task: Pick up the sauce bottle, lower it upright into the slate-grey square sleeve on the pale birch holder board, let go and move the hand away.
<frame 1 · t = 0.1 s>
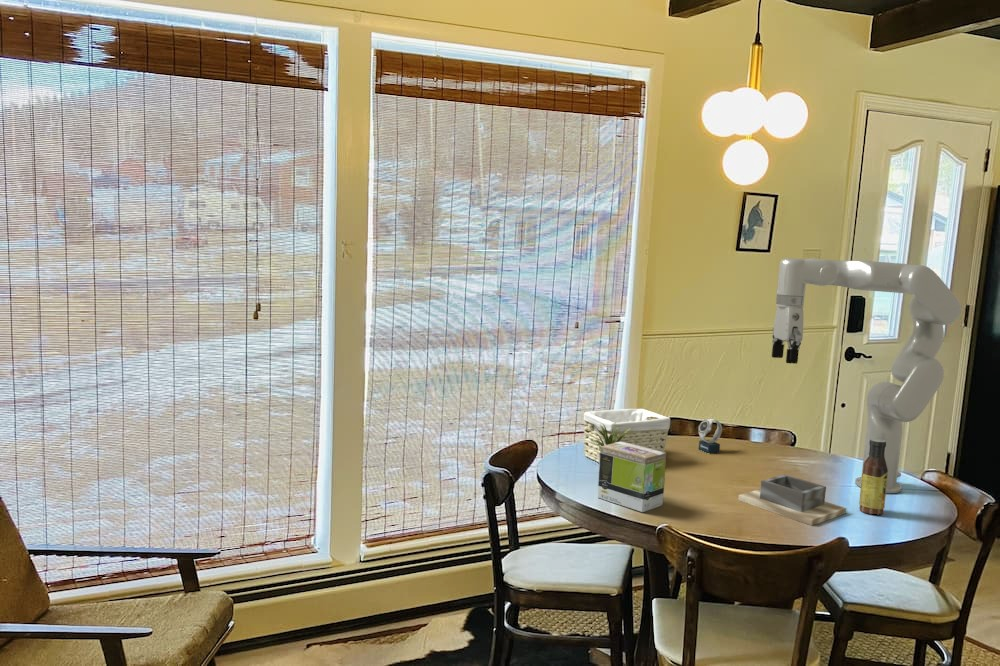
hand: (784, 360, 233), 37 cm above the table, tool pointing down, fingers open, 9 cm apart
house plant: (604, 475, 239), on the table
sauce bottle: (870, 512, 218), on the table
storage basket: (623, 460, 257), on the table
watch: (708, 451, 271), on the table
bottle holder: (791, 506, 219), on the table
tea box: (629, 502, 217), on the table
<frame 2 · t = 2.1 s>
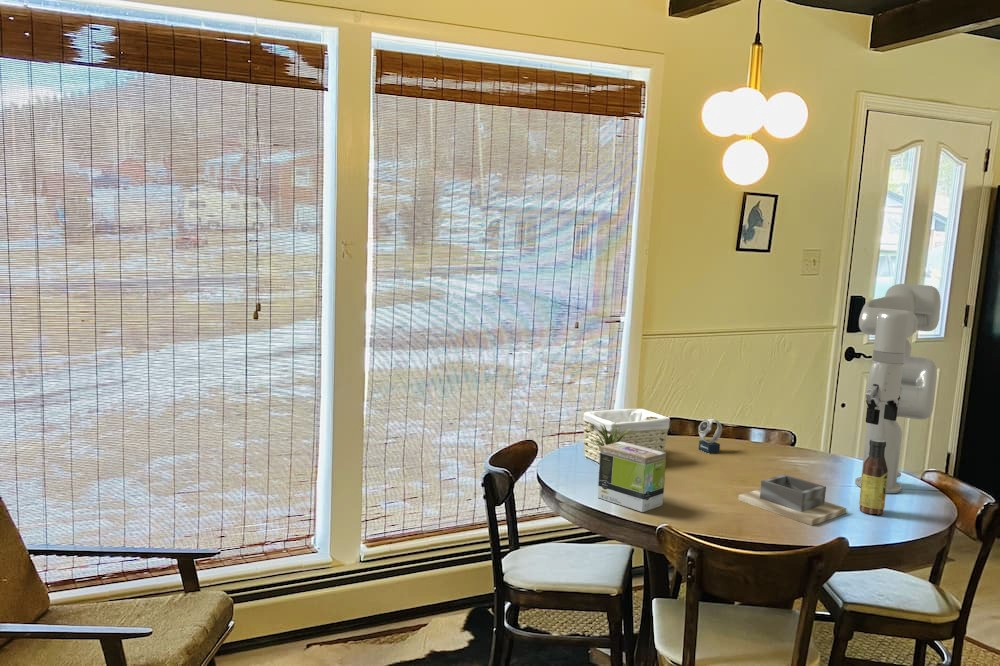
hand: (880, 421, 214), 25 cm above the table, tool pointing down, fingers open, 9 cm apart
nothing on the table moved.
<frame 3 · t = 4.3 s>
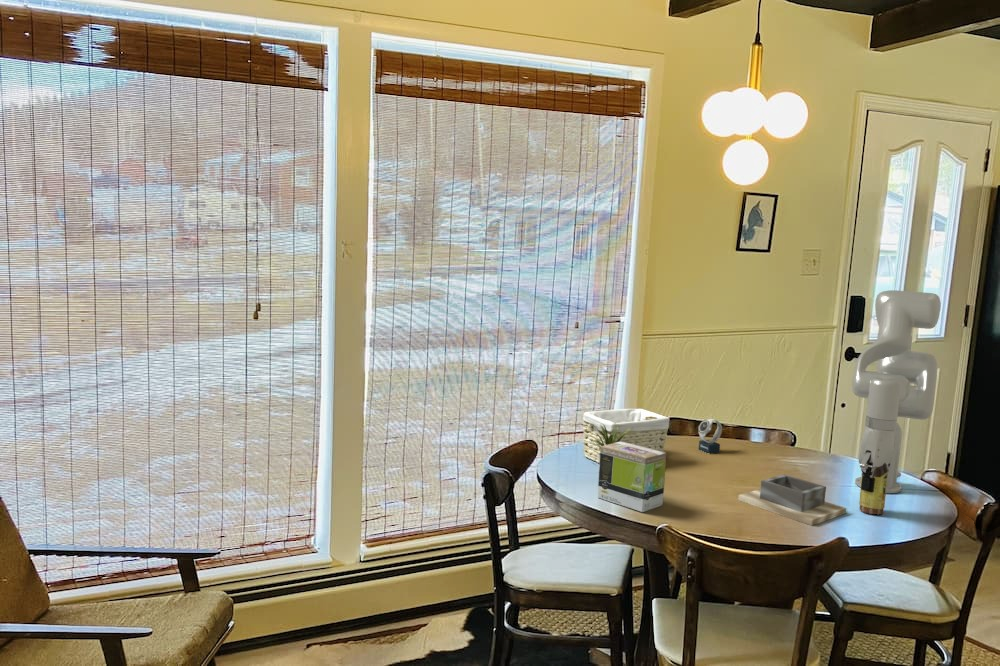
hand: (873, 488, 217), 7 cm above the table, tool pointing down, fingers closed on sauce bottle, 6 cm apart
sauce bottle: (870, 512, 218), on the table, touching gripper
everything else where it was.
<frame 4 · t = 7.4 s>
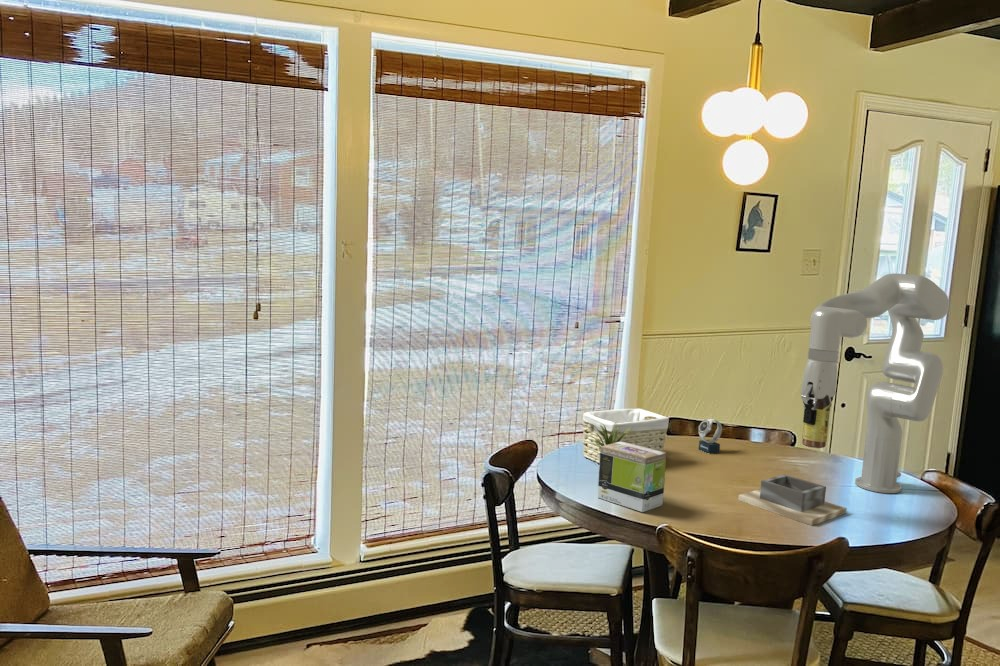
hand: (815, 421, 215), 24 cm above the table, tool pointing down, fingers closed on sauce bottle, 6 cm apart
sauce bottle: (813, 446, 216), point 17 cm above the table, touching gripper
everything else where it was.
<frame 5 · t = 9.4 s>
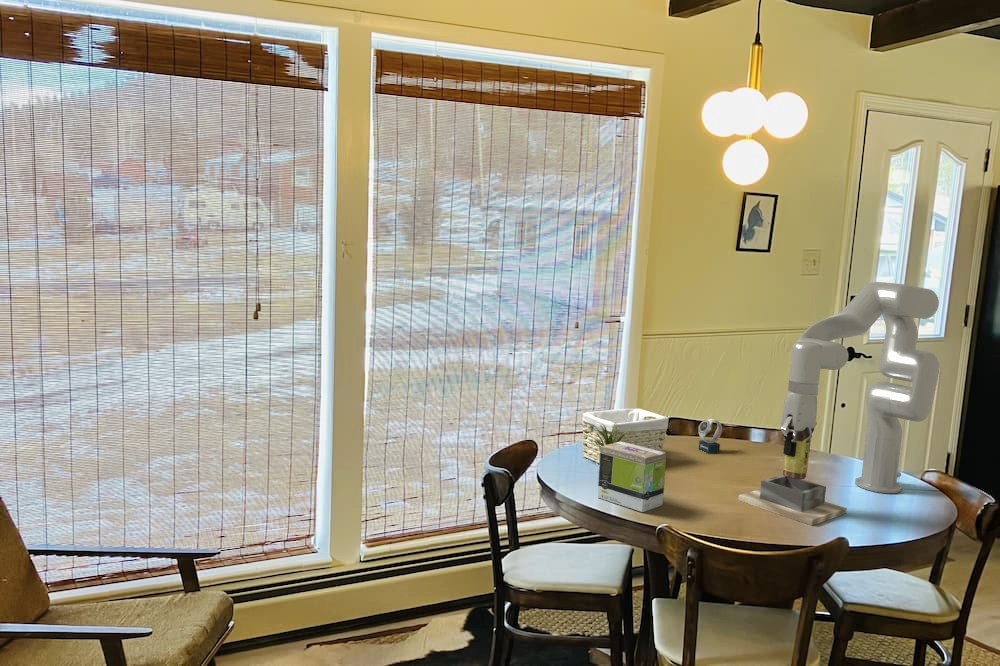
hand: (796, 453, 217), 15 cm above the table, tool pointing down, fingers closed on sauce bottle, 6 cm apart
sauce bottle: (793, 477, 217), point 8 cm above the table, touching gripper
everything else where it was.
when the fingers open (9 cm above the table, at t = 10.9 s): sauce bottle drops 1 cm, resting on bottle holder.
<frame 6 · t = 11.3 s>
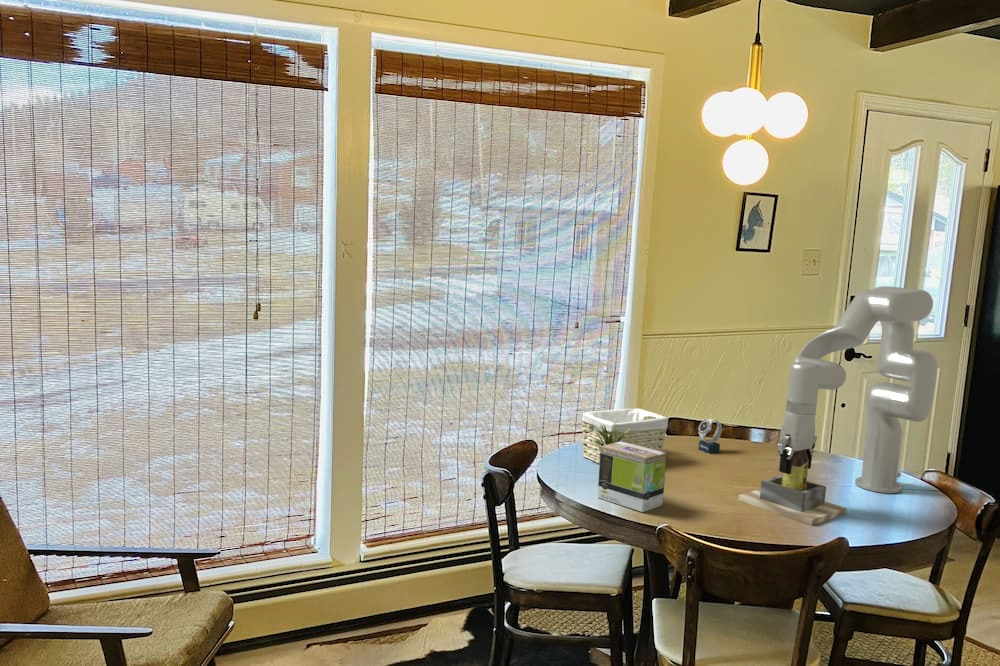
hand: (794, 470, 217), 10 cm above the table, tool pointing down, fingers open, 9 cm apart
sauce bottle: (792, 502, 219), point 1 cm above the table, touching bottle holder
everything else where it was.
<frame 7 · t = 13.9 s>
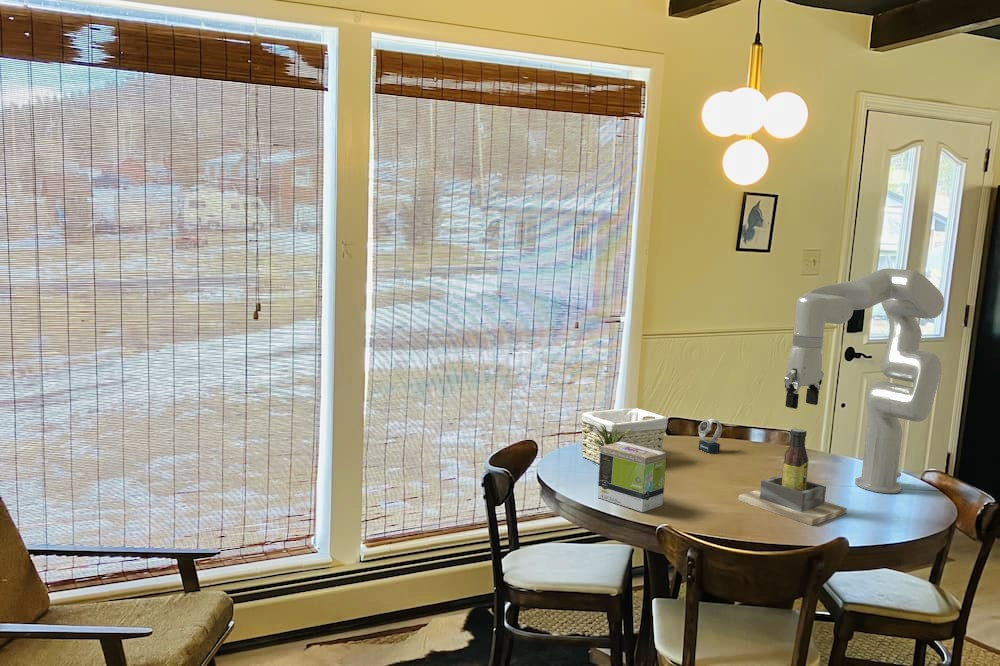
hand: (801, 405, 215), 28 cm above the table, tool pointing down, fingers open, 9 cm apart
nothing on the table moved.
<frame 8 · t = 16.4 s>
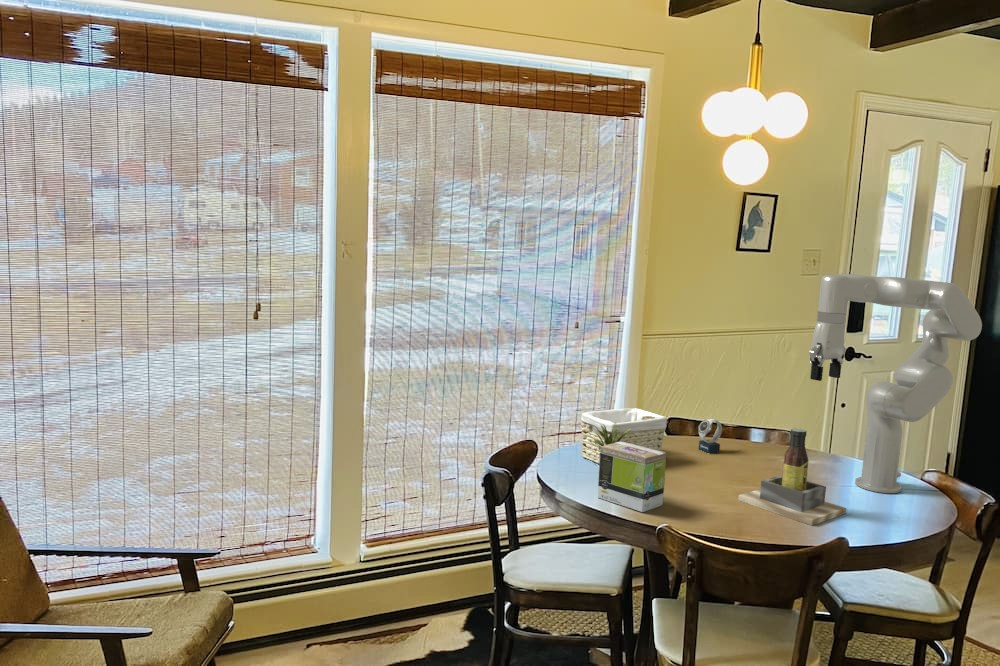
hand: (825, 378, 229), 33 cm above the table, tool pointing down, fingers open, 9 cm apart
nothing on the table moved.
at the end: sauce bottle 0.1 cm off-centre on the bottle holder, point 1.3 cm above the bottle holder's base; sauce bottle tilted 0°; the gripper is holding nothing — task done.
